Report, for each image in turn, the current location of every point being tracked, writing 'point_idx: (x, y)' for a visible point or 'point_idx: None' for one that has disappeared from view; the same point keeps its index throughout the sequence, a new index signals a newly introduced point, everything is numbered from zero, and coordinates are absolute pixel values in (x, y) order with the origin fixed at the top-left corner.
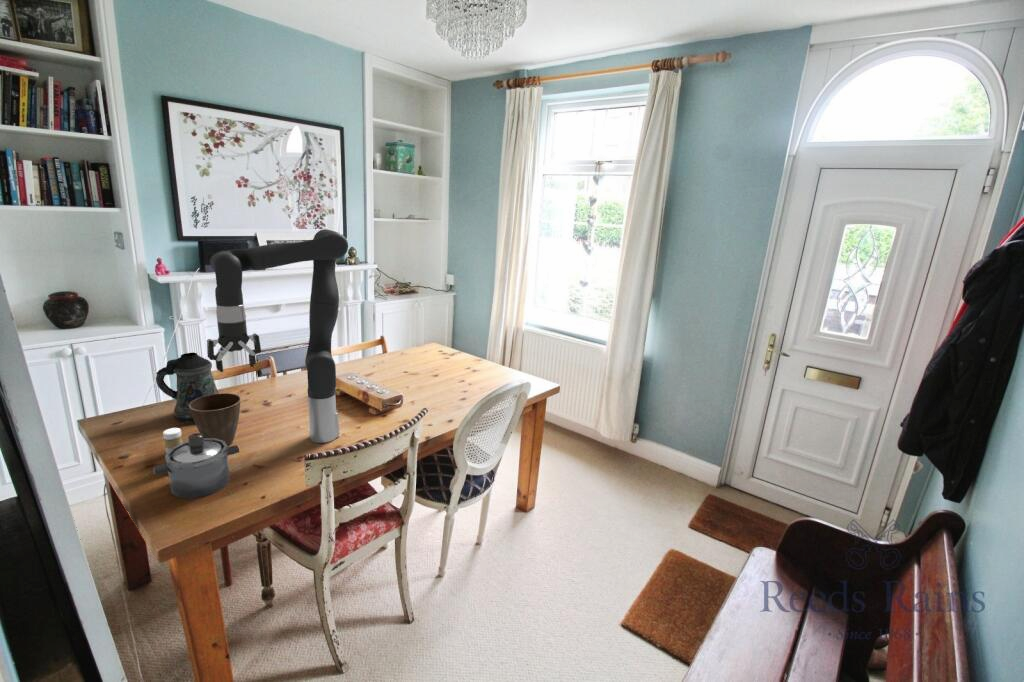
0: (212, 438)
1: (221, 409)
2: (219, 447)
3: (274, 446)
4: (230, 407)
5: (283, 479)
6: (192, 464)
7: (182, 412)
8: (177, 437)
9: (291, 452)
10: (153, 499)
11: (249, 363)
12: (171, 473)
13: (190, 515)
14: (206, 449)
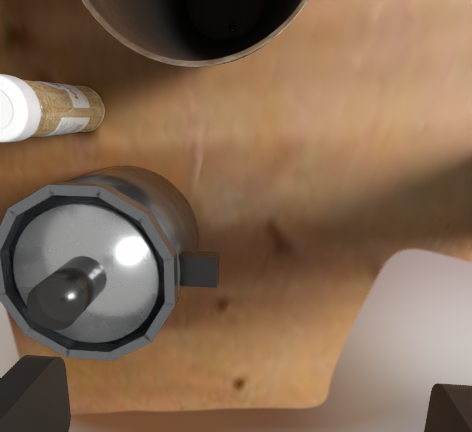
0: (141, 213)
1: (196, 66)
2: (151, 294)
3: (366, 143)
4: (245, 54)
5: (306, 344)
6: (62, 353)
7: None
8: (25, 138)
9: (391, 218)
10: None
11: (448, 405)
12: None
13: None
14: (111, 281)
